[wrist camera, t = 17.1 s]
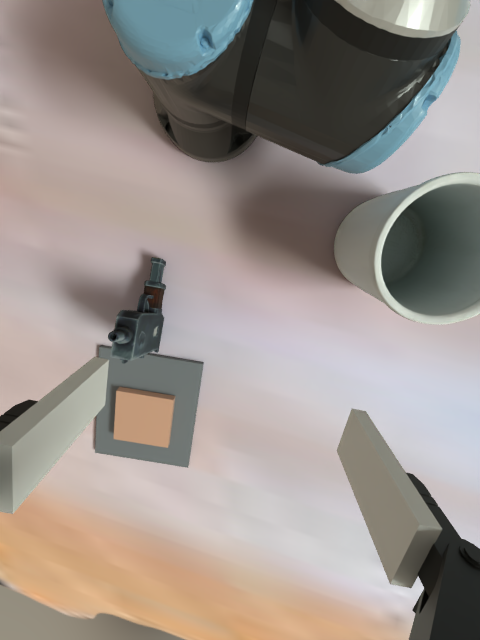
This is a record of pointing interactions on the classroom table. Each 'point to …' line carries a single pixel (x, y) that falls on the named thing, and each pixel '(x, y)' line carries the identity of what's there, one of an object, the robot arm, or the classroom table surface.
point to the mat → (158, 378)
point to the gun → (141, 320)
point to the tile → (143, 417)
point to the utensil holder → (418, 249)
